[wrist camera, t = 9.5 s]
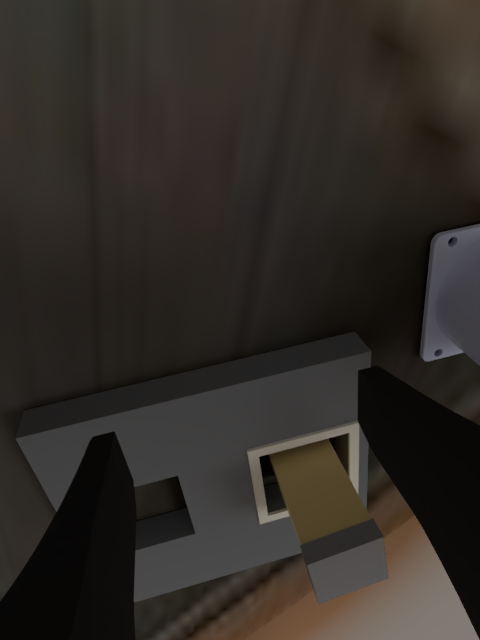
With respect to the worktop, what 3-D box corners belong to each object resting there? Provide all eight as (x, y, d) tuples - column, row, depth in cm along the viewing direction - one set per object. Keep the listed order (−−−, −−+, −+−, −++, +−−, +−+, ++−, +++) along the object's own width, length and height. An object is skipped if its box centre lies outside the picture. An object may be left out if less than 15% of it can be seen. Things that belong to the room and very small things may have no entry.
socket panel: (354, 331, 25) (373, 353, 23) (353, 509, 33) (366, 536, 31) (23, 410, 23) (14, 441, 21) (111, 579, 31) (110, 612, 29)
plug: (319, 417, 28) (383, 536, 21) (327, 457, 30) (388, 578, 23) (261, 437, 28) (306, 565, 21) (273, 476, 30) (318, 604, 23)
